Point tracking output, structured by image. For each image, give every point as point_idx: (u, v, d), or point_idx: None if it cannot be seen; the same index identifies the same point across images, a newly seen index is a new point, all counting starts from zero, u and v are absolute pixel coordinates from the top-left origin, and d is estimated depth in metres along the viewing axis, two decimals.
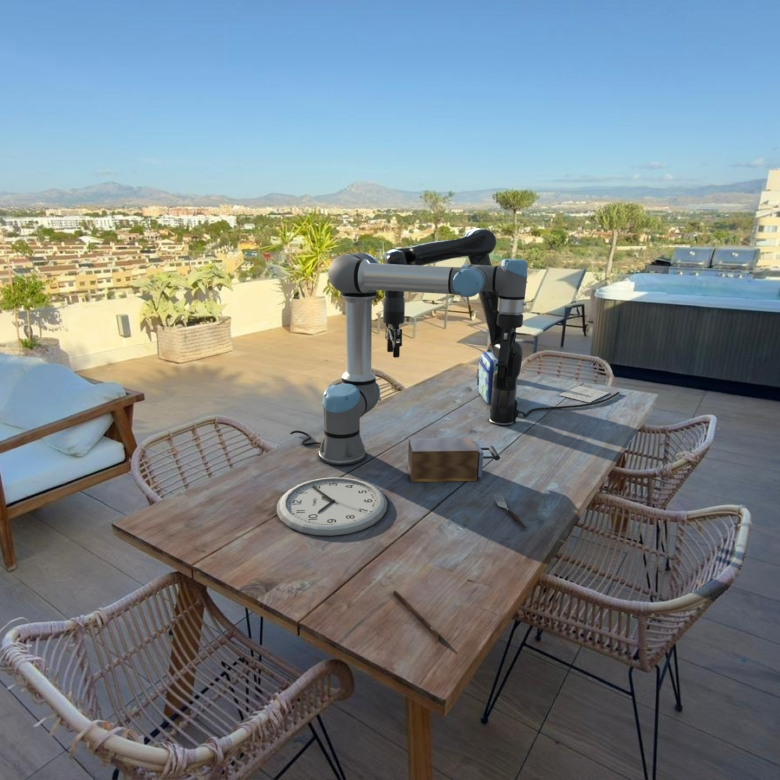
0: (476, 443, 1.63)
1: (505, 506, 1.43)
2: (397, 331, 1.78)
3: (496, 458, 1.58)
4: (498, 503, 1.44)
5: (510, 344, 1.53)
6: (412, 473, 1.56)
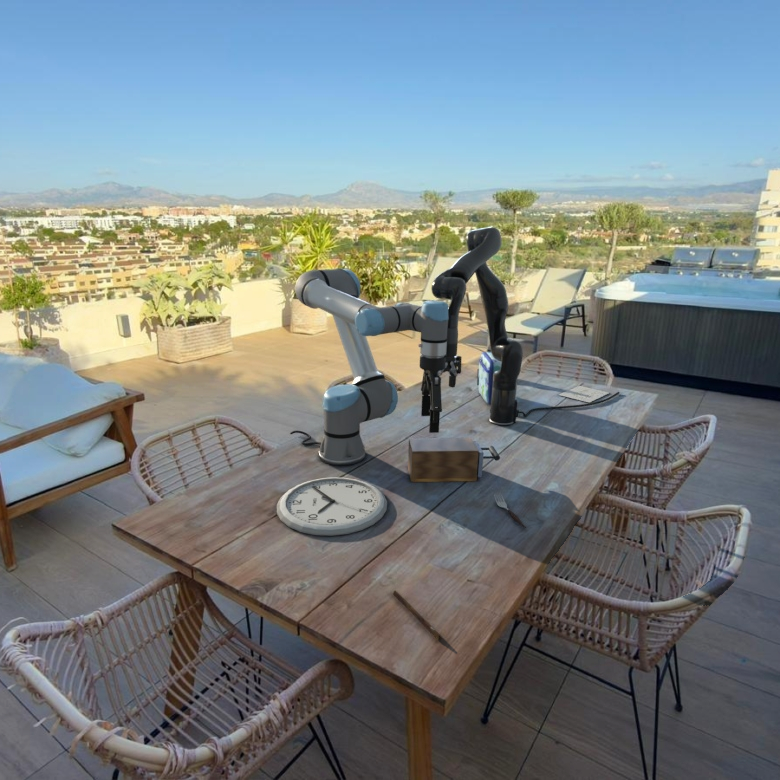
0: (476, 443, 1.63)
1: (505, 506, 1.43)
2: None
3: (496, 458, 1.58)
4: (498, 503, 1.44)
5: None
6: (412, 473, 1.56)
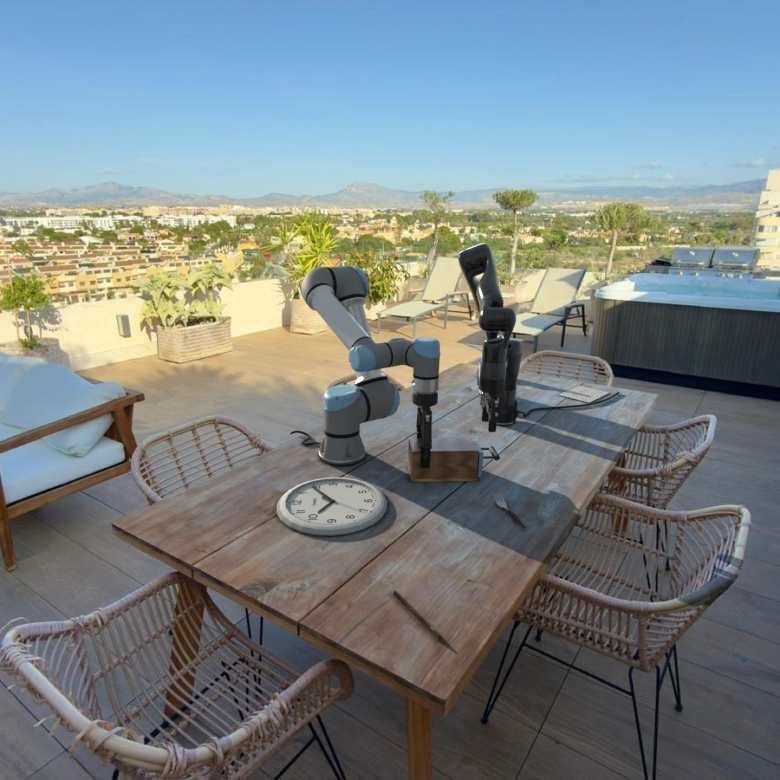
0: (476, 443, 1.63)
1: (505, 506, 1.43)
2: None
3: (496, 458, 1.58)
4: (498, 503, 1.44)
5: None
6: (412, 473, 1.56)
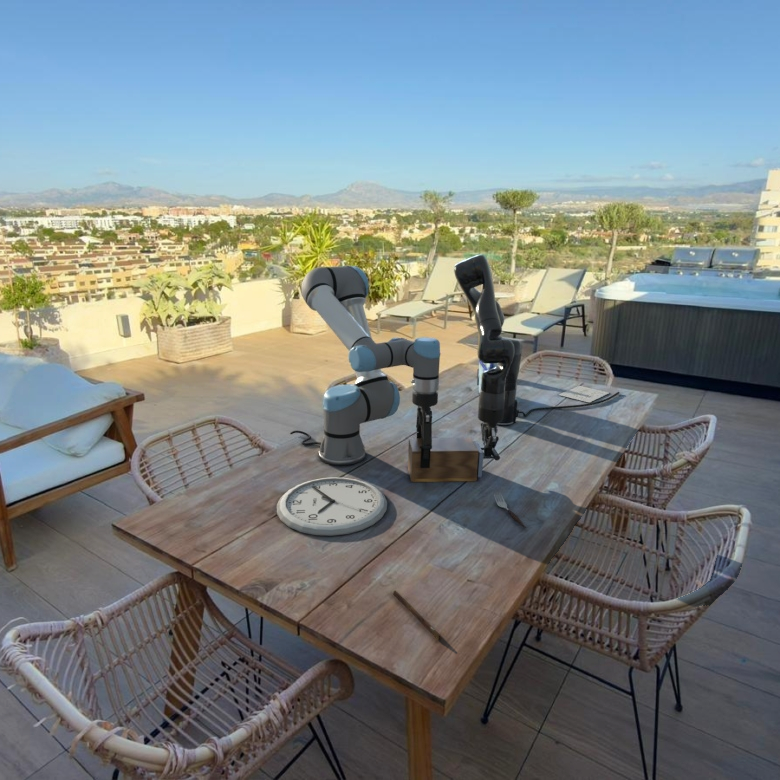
0: (476, 443, 1.63)
1: (505, 506, 1.43)
2: None
3: (496, 458, 1.58)
4: (498, 503, 1.44)
5: None
6: (412, 473, 1.56)
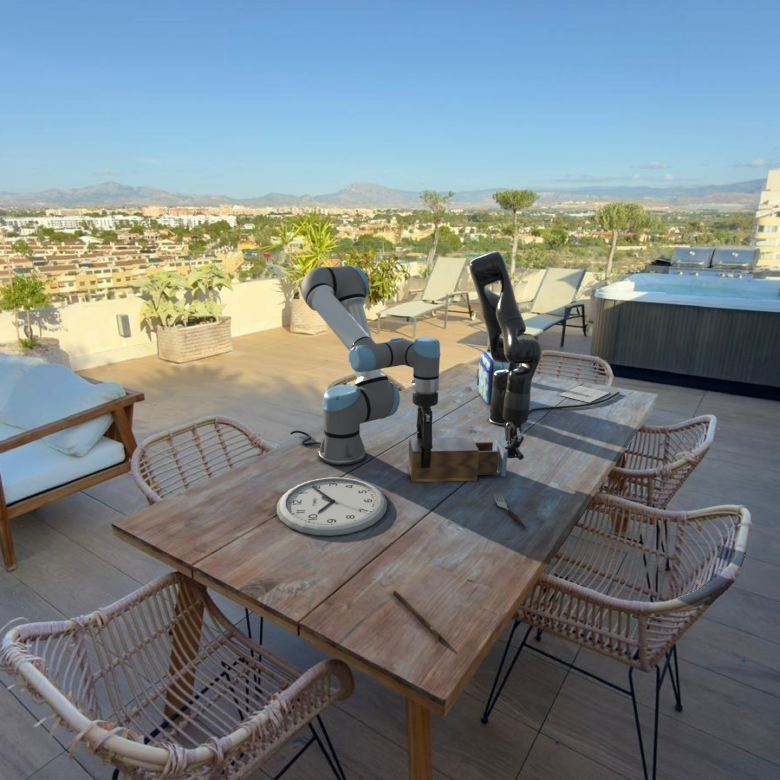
0: (499, 442, 1.63)
1: (505, 506, 1.43)
2: None
3: (520, 457, 1.58)
4: (498, 503, 1.44)
5: None
6: (413, 473, 1.56)
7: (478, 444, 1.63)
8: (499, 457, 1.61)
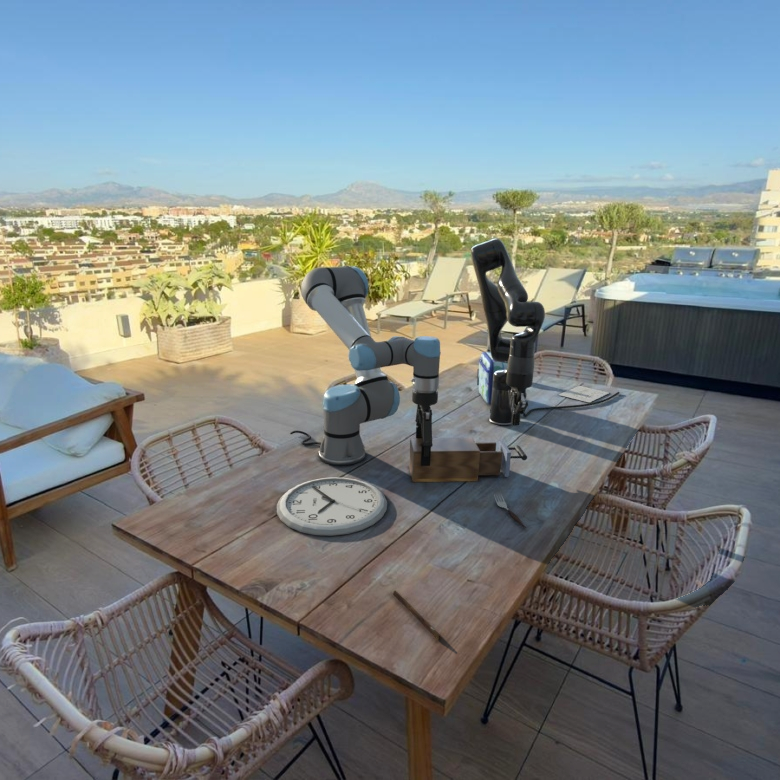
0: (503, 443, 1.63)
1: (505, 506, 1.43)
2: None
3: (523, 458, 1.58)
4: (498, 503, 1.44)
5: None
6: (413, 473, 1.56)
7: (481, 445, 1.63)
8: (502, 457, 1.61)
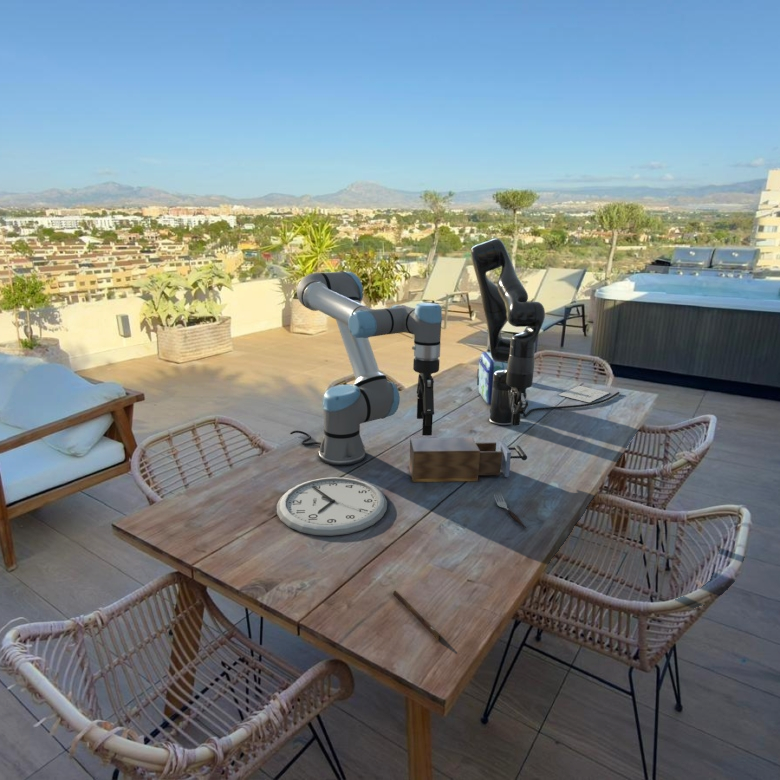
0: (503, 443, 1.63)
1: (505, 506, 1.43)
2: None
3: (523, 458, 1.58)
4: (498, 503, 1.44)
5: None
6: (413, 473, 1.56)
7: (481, 445, 1.63)
8: (502, 457, 1.61)
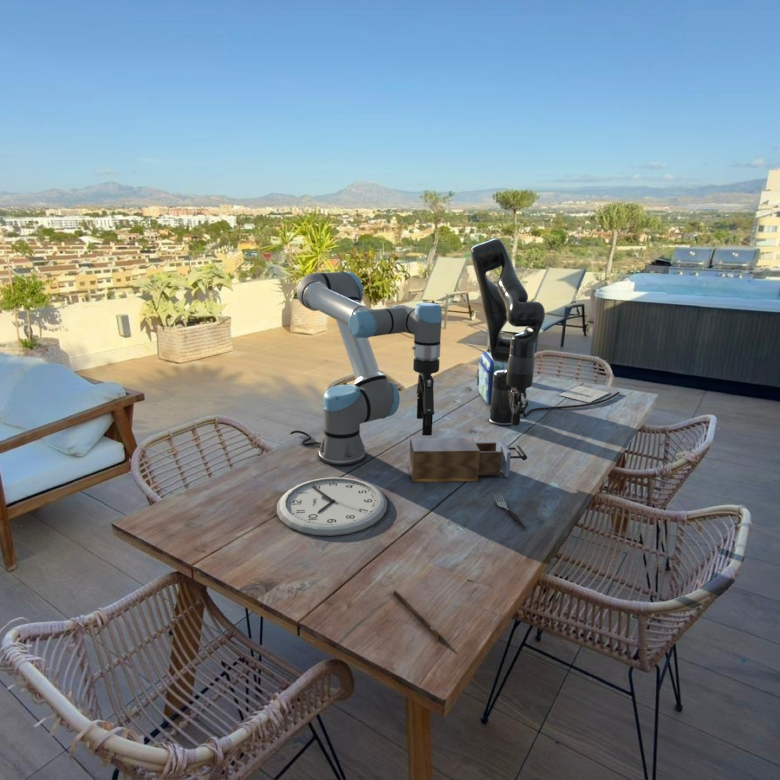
0: (503, 443, 1.63)
1: (505, 506, 1.43)
2: None
3: (523, 458, 1.58)
4: (498, 503, 1.44)
5: None
6: (413, 473, 1.56)
7: (481, 445, 1.63)
8: (502, 457, 1.61)
